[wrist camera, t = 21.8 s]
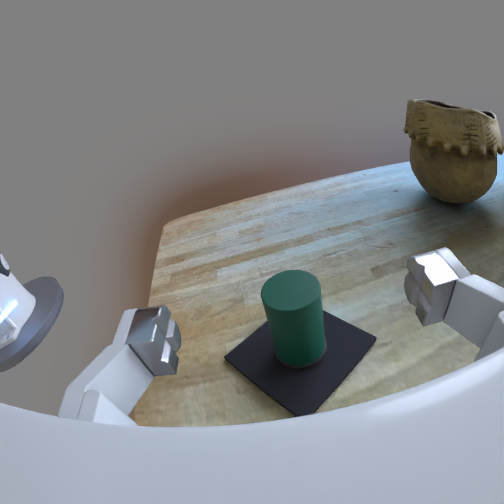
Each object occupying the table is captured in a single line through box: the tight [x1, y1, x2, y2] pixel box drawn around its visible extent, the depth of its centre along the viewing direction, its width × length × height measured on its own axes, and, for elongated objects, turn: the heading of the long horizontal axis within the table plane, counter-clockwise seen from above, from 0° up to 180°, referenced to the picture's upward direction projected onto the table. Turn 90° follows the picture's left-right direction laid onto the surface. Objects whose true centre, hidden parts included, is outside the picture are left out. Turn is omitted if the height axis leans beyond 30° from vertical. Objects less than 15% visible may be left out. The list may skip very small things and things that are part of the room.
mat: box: [224, 310, 376, 417], centre depth 30 cm, size 12×12×1 cm
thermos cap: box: [261, 270, 327, 371], centre depth 28 cm, size 6×6×9 cm
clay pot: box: [404, 100, 504, 204], centre depth 43 cm, size 21×21×20 cm
